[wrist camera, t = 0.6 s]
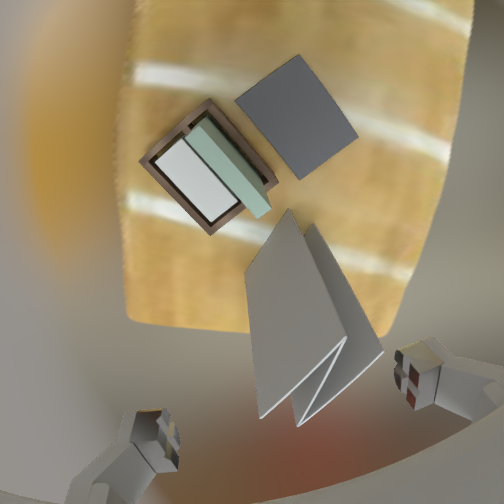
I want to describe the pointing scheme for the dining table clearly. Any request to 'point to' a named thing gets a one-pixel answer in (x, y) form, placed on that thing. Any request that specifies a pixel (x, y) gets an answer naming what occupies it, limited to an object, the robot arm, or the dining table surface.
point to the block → (230, 164)
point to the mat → (298, 117)
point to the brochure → (304, 323)
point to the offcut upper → (196, 179)
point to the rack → (150, 165)
